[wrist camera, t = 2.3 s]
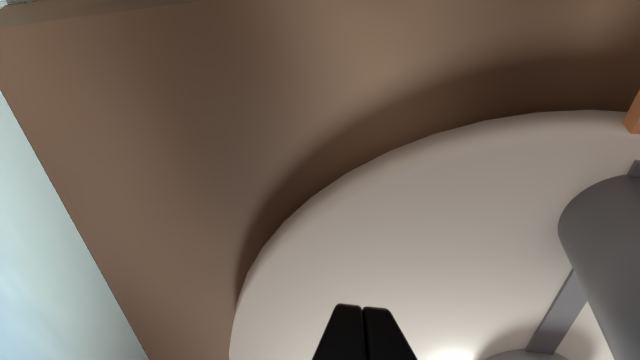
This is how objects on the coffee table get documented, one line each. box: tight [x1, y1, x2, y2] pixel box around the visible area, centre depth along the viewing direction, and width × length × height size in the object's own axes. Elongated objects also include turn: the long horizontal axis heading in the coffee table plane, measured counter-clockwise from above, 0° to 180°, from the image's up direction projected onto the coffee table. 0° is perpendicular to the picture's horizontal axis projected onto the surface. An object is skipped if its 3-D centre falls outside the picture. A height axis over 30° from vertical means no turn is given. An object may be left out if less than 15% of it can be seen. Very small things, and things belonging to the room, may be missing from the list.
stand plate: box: [0, 0, 640, 360], centre depth 16 cm, size 22×22×4 cm
